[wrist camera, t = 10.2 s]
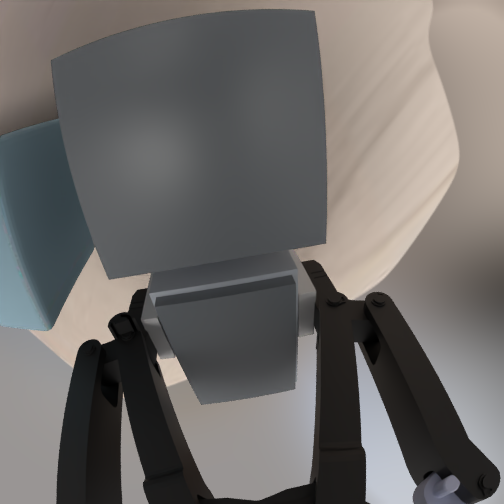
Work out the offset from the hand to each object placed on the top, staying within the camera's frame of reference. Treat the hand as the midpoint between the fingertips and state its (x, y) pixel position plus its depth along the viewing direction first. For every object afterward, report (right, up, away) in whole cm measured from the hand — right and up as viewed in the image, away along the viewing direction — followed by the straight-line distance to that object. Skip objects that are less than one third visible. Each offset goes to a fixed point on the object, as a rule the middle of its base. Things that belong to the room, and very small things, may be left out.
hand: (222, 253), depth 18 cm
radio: (-16, +6, -1) cm, 17 cm away
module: (0, 0, 0) cm, 0 cm away
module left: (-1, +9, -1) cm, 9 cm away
